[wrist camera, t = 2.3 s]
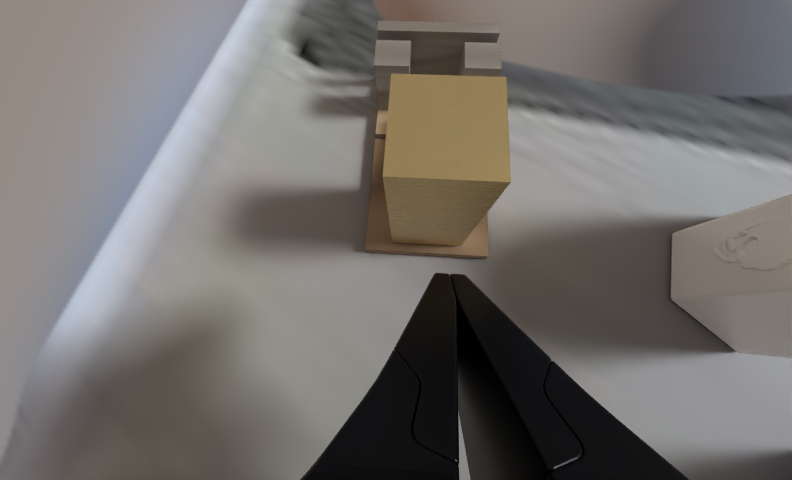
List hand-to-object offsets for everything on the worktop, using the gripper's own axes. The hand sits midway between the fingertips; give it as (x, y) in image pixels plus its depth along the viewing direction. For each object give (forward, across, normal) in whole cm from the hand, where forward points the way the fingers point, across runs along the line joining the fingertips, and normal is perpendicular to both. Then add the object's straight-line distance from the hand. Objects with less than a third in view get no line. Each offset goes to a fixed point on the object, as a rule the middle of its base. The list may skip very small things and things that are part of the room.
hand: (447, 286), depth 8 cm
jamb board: (+15, 0, 0) cm, 15 cm away
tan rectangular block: (+13, 0, +1) cm, 13 cm away
